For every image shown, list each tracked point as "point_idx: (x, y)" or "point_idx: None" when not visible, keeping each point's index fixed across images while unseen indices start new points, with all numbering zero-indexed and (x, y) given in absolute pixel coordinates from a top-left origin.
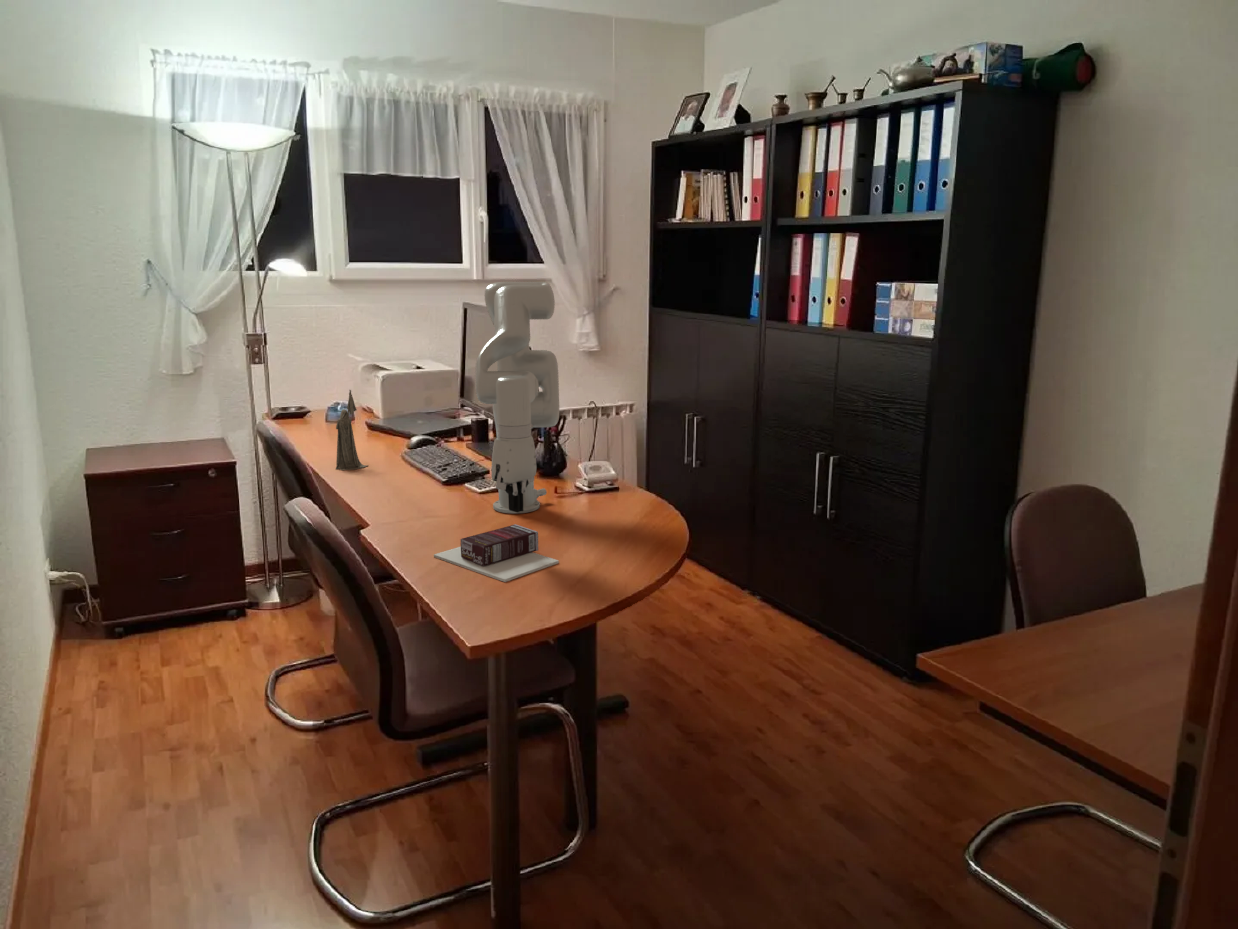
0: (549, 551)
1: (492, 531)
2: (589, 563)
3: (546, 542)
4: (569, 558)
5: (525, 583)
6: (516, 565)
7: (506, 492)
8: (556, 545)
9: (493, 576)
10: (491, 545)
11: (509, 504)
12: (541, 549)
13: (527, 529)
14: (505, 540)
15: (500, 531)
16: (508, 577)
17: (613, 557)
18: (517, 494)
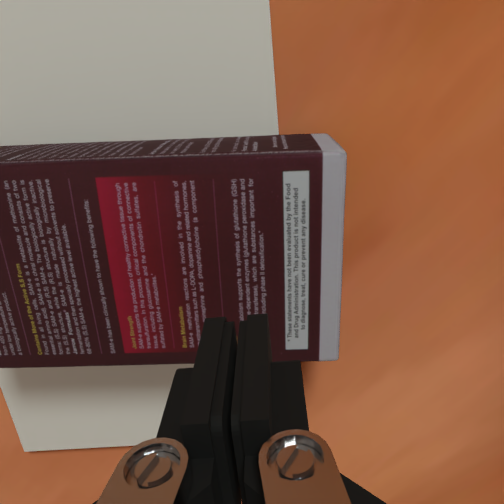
0: (377, 309)
1: (129, 183)
2: (378, 490)
3: (470, 202)
4: (368, 417)
5: (84, 486)
6: (136, 378)
7: (123, 468)
8: (464, 269)
9: (8, 399)
10: (9, 366)
11: (175, 388)
12: (372, 266)
13: (319, 299)
14: (104, 363)
15: (167, 223)
16: (44, 446)
17: (487, 501)
18: (243, 501)
